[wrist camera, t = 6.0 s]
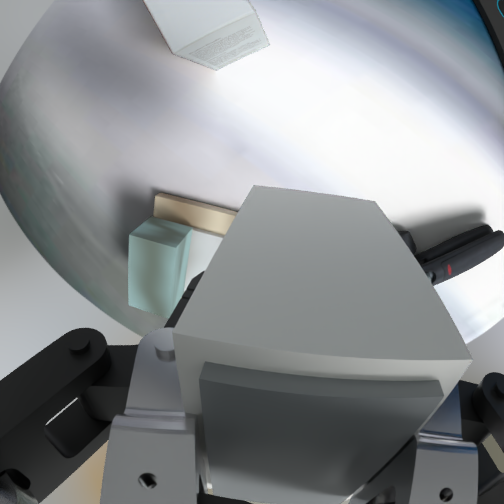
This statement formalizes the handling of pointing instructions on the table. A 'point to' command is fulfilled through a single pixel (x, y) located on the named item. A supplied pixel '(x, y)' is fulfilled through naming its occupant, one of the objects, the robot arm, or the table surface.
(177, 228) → the rail board
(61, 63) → the table surface
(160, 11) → the small box
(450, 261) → the can opener
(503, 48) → the smart home device
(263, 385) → the block
